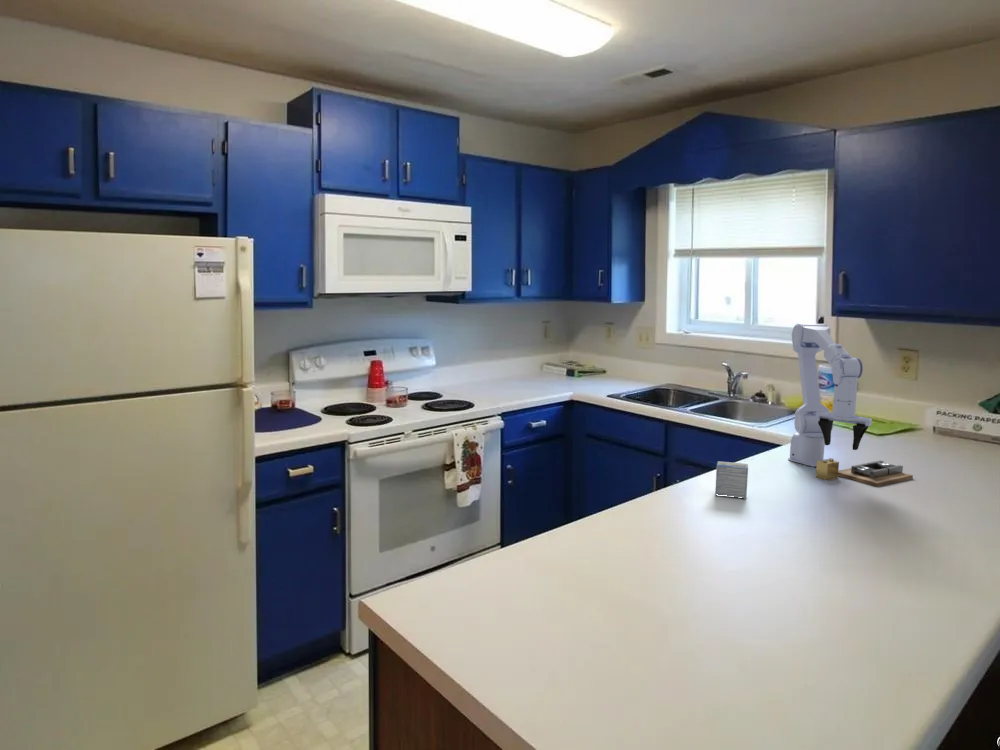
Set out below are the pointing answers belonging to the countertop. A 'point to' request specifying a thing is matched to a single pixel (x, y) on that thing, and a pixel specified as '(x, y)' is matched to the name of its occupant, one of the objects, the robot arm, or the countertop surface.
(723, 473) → the medicine box
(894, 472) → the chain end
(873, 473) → the chain end
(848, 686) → the countertop surface
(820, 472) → the brass block with studs
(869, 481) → the chain board
